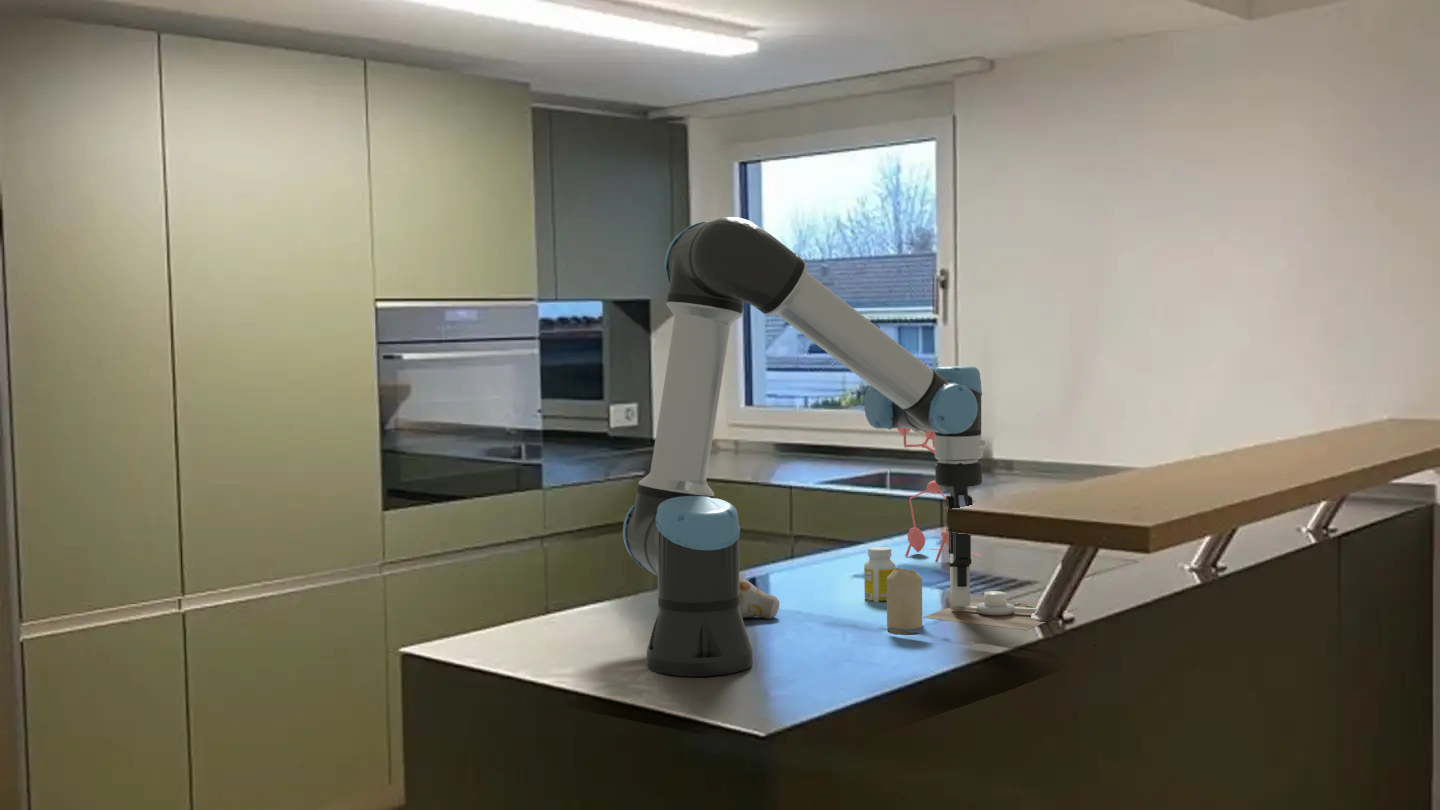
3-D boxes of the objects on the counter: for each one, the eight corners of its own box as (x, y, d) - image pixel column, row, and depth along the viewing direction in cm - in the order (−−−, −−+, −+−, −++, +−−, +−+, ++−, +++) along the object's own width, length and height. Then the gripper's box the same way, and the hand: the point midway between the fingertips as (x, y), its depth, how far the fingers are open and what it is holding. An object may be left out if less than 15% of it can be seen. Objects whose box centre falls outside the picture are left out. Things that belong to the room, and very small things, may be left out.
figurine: (962, 568, 276) (964, 391, 275) (876, 552, 297) (877, 388, 296) (1016, 561, 285) (1018, 390, 284) (929, 547, 306) (930, 387, 305)
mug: (783, 624, 227) (753, 573, 225) (732, 647, 230) (702, 597, 228) (789, 604, 234) (759, 555, 233) (740, 627, 237) (710, 578, 235)
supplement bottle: (900, 602, 242) (899, 546, 242) (890, 608, 237) (890, 551, 237) (870, 600, 245) (869, 545, 244) (860, 606, 240) (859, 549, 239)
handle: (947, 612, 227) (947, 557, 226) (953, 605, 232) (953, 551, 232) (1040, 617, 222) (1040, 560, 221) (1044, 610, 228) (1044, 555, 227)
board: (1027, 636, 214) (1027, 628, 214) (922, 623, 225) (922, 615, 225) (1077, 614, 230) (1077, 606, 230) (977, 602, 241) (977, 595, 241)
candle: (928, 630, 220) (928, 567, 219) (912, 636, 215) (912, 572, 215) (897, 626, 223) (896, 564, 222) (880, 633, 218) (880, 569, 218)
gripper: (988, 466, 218) (989, 613, 220) (976, 454, 235) (977, 592, 237) (939, 466, 219) (941, 614, 221) (931, 455, 235) (932, 592, 237)
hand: (960, 602), depth 229 cm, fingers open, 3 cm apart
